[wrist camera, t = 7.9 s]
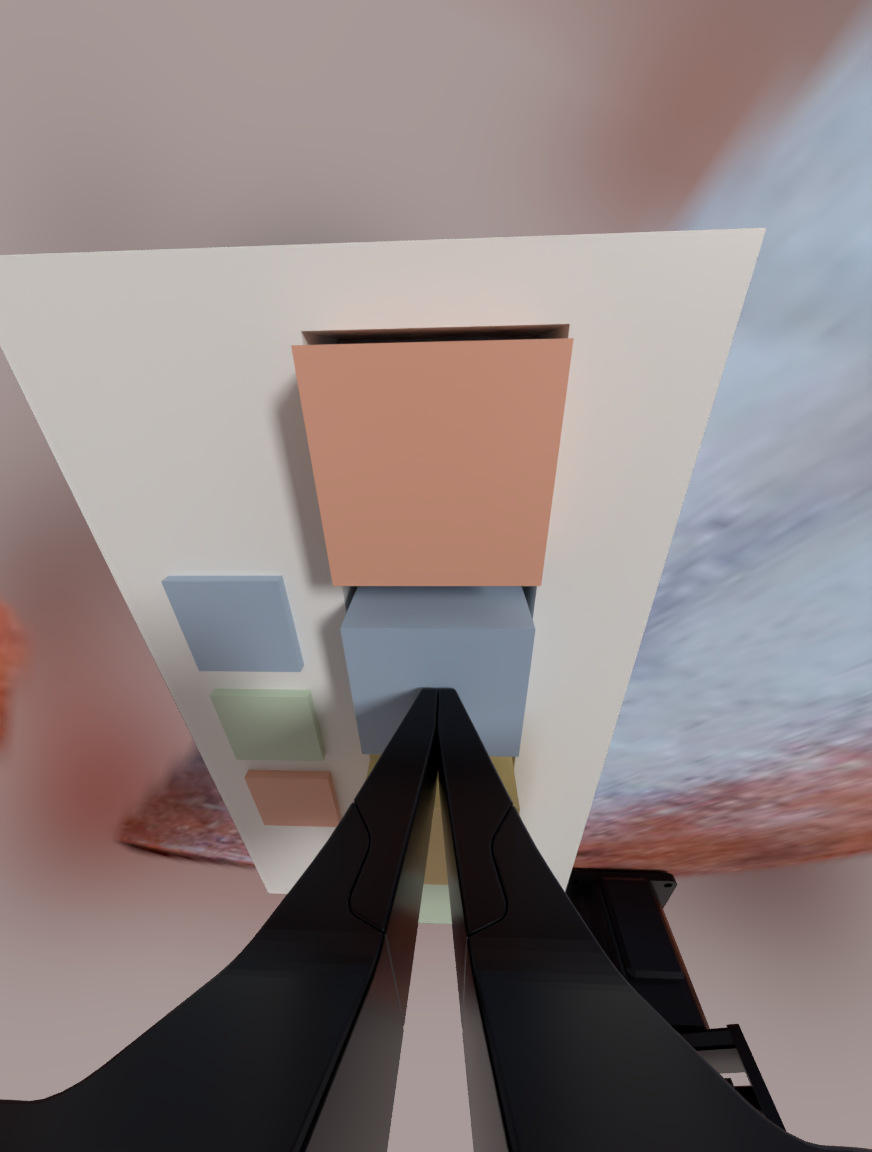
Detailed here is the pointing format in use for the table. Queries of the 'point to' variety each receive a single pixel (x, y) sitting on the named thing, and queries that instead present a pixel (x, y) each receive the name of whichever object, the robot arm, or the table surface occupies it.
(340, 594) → the keypad
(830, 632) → the table surface
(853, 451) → the table surface
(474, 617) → the slate key
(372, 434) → the terracotta key
